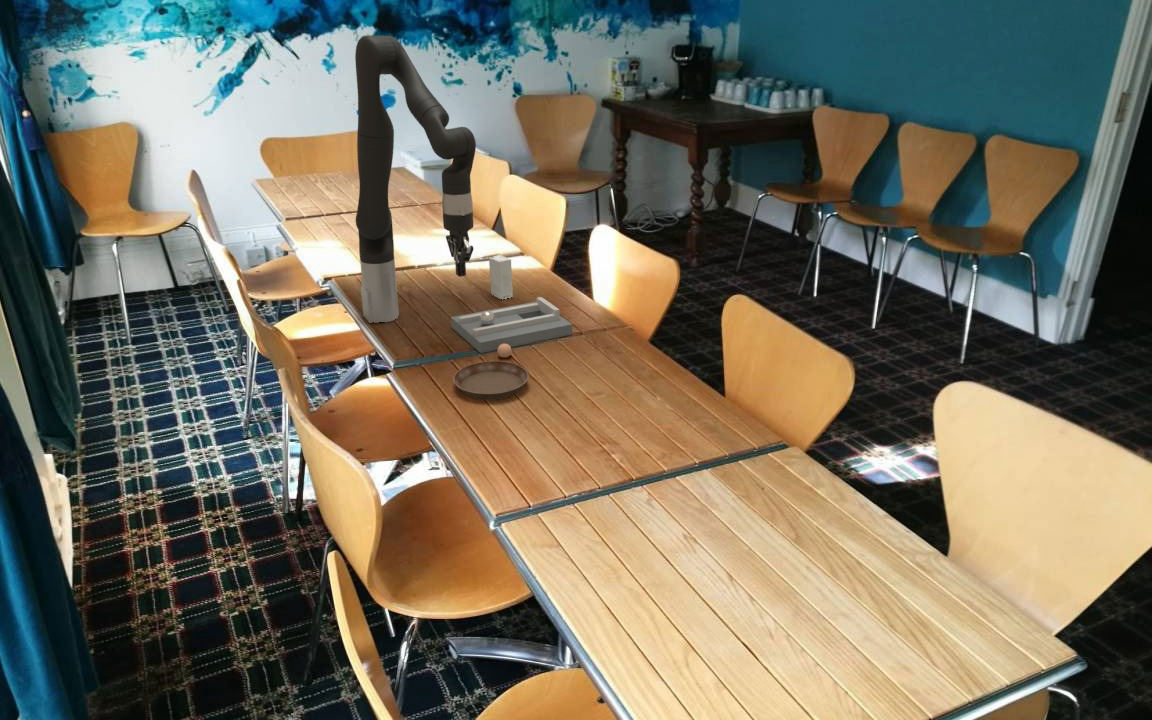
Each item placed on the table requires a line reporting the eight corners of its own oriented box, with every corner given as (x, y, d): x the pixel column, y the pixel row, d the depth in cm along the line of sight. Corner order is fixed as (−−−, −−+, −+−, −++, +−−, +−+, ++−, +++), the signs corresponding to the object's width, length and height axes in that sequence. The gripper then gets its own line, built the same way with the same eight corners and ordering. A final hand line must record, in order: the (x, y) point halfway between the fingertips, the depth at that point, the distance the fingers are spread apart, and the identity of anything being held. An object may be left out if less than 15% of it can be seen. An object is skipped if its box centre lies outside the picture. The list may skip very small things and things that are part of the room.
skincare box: (513, 297, 265) (512, 259, 260) (501, 300, 262) (500, 261, 257) (501, 292, 269) (500, 254, 264) (489, 295, 266) (488, 256, 261)
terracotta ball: (501, 361, 223) (500, 347, 221) (495, 355, 226) (494, 342, 224) (514, 358, 224) (513, 345, 223) (508, 353, 227) (507, 340, 226)
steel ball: (483, 329, 234) (483, 315, 232) (477, 324, 237) (477, 310, 236) (497, 326, 236) (497, 312, 234) (491, 321, 239) (490, 307, 237)
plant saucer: (459, 408, 200) (459, 396, 198) (449, 376, 215) (448, 364, 214) (535, 399, 204) (535, 387, 203) (519, 368, 219) (519, 357, 218)
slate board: (480, 353, 227) (479, 331, 224) (451, 327, 243) (450, 306, 240) (572, 334, 239) (572, 313, 236) (538, 310, 255) (538, 291, 252)
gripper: (433, 205, 224) (438, 270, 231) (453, 217, 213) (457, 285, 220) (461, 202, 227) (464, 266, 234) (482, 214, 216) (484, 280, 224)
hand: (461, 275), depth 227 cm, fingers closed
